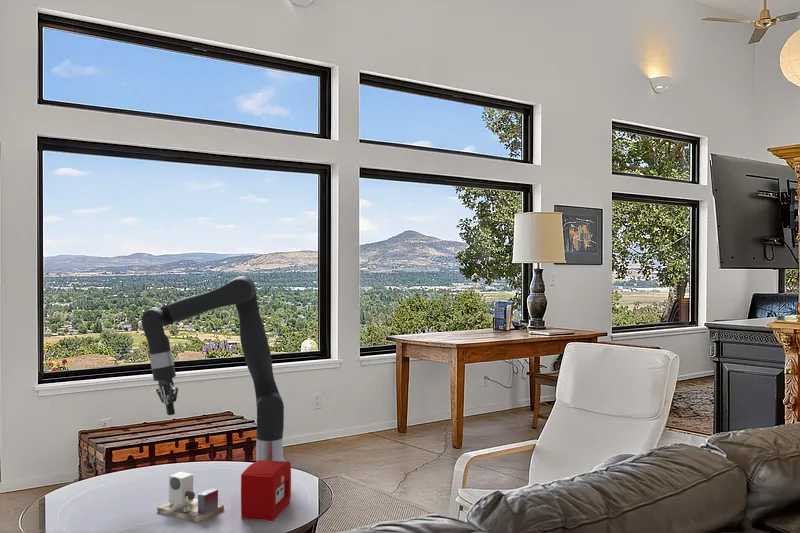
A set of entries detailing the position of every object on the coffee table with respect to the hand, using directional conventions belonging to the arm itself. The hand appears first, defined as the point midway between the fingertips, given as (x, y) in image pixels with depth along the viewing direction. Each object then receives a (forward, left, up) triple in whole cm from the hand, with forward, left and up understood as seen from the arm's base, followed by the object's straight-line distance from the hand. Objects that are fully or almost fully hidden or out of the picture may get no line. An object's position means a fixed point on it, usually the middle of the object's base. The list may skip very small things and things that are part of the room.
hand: (171, 414), depth 259 cm
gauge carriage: (+3, +22, -24) cm, 33 cm away
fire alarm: (-21, +36, -26) cm, 49 cm away
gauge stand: (0, +24, -26) cm, 35 cm away
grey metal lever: (+3, +29, -24) cm, 38 cm away
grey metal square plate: (-3, +30, -24) cm, 39 cm away
